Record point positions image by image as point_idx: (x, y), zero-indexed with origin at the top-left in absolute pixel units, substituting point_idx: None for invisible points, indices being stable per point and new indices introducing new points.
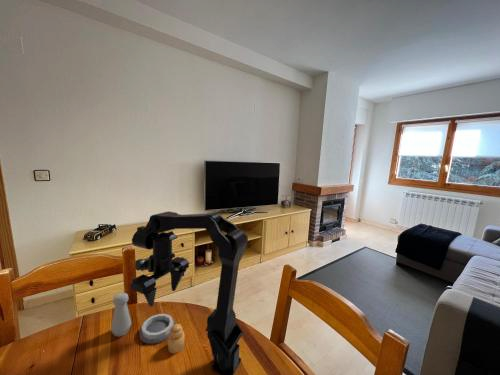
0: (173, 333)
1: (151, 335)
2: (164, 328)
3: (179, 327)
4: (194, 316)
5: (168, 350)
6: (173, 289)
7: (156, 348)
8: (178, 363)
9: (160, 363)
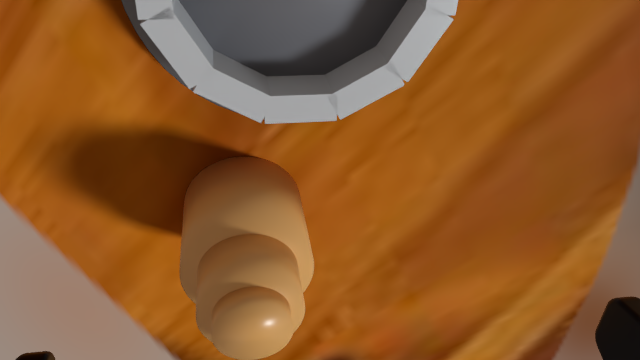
0: (201, 326)
1: (157, 42)
2: (320, 30)
3: (260, 351)
4: (559, 116)
5: (187, 191)
6: (617, 349)
7: (147, 103)
8: (160, 290)
9: (86, 216)
